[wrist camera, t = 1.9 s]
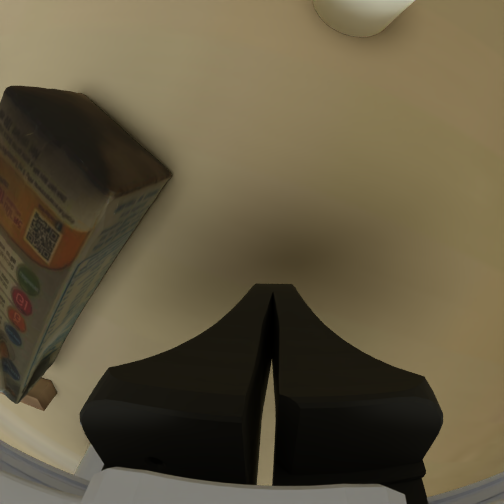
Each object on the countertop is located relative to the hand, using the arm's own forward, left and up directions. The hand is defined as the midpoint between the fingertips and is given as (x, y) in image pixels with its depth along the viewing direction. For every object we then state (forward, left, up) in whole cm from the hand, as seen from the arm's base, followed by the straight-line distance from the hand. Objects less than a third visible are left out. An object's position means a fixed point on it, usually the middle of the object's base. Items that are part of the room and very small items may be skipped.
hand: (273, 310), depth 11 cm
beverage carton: (0, +14, -6) cm, 15 cm away
